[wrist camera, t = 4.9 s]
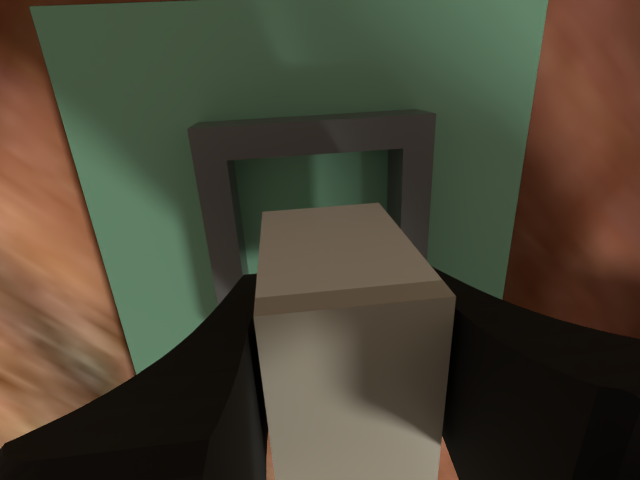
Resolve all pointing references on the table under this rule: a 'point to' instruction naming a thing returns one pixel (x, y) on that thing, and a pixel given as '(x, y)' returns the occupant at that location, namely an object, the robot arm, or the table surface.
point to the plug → (350, 346)
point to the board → (287, 134)
